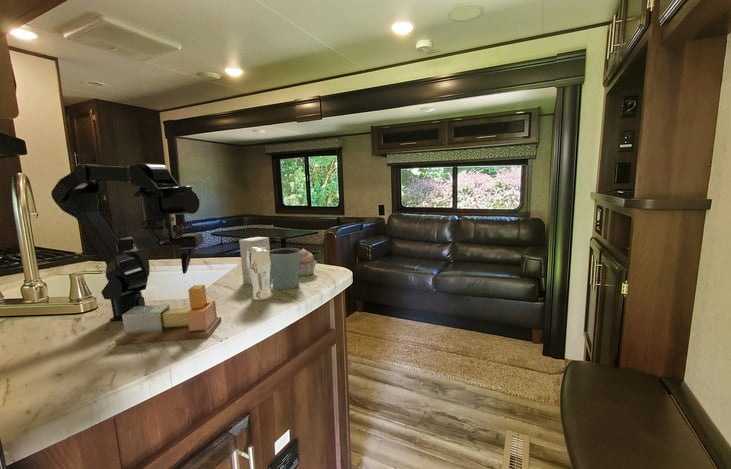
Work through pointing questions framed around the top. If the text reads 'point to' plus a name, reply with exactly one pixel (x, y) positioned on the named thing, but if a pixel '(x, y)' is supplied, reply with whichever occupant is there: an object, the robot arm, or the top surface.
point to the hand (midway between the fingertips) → (166, 274)
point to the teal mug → (285, 268)
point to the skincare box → (244, 246)
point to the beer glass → (260, 272)
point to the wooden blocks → (180, 314)
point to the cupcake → (306, 263)
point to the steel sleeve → (144, 319)
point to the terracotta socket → (202, 317)
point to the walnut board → (168, 335)
